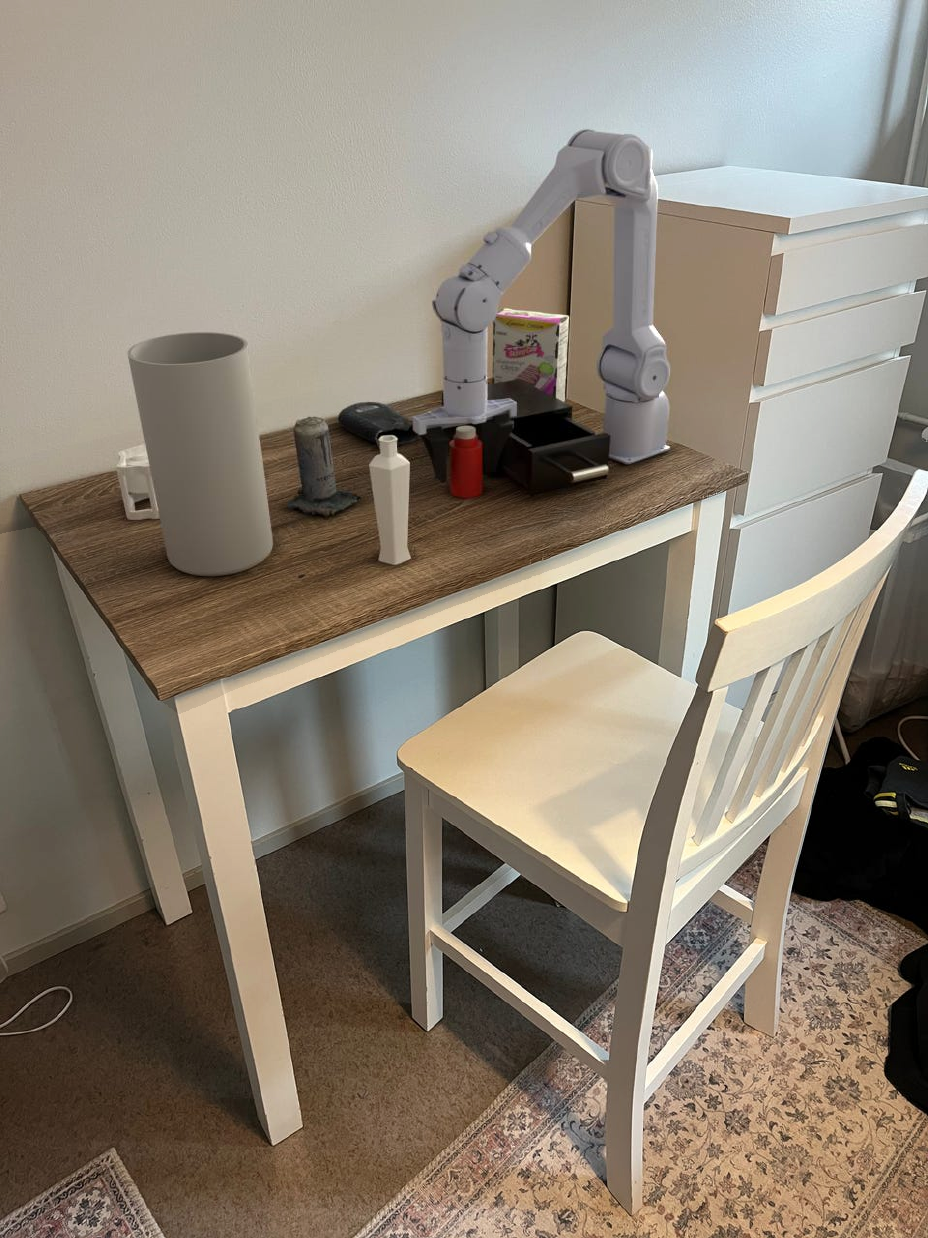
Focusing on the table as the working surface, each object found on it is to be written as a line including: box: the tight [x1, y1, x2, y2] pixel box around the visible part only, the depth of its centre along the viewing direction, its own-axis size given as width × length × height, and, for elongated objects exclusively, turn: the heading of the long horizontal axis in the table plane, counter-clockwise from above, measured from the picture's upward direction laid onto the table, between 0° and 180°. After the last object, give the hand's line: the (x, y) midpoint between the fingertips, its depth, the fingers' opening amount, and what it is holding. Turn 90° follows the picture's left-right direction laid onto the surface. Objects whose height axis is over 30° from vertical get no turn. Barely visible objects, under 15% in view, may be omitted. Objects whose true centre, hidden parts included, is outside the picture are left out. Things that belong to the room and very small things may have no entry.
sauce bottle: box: [449, 426, 483, 499], centre depth 128 cm, size 4×4×9 cm
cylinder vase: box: [127, 331, 274, 577], centre depth 108 cm, size 12×12×25 cm
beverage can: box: [287, 415, 363, 518], centre depth 123 cm, size 9×8×12 cm
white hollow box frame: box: [115, 443, 160, 521], centre depth 128 cm, size 20×11×7 cm, turn 123°
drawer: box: [497, 414, 610, 497], centre depth 131 cm, size 18×12×6 cm
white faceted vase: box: [368, 435, 412, 566], centre depth 110 cm, size 5×4×15 cm
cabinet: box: [441, 379, 573, 478], centre depth 140 cm, size 15×14×8 cm
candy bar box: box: [491, 308, 570, 403], centre depth 151 cm, size 11×5×16 cm, turn 66°
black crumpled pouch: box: [337, 401, 420, 450], centre depth 149 cm, size 9×6×15 cm
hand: (466, 474), depth 129 cm, fingers open, 7 cm apart
